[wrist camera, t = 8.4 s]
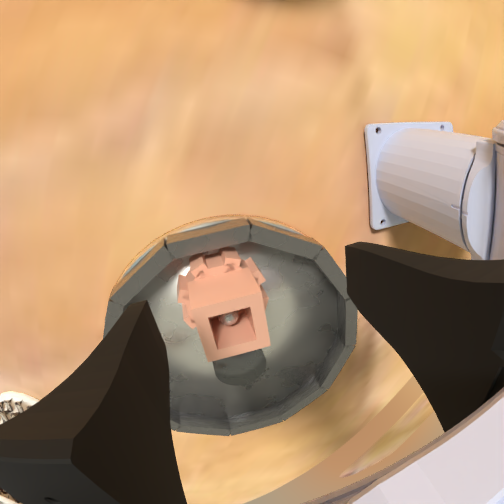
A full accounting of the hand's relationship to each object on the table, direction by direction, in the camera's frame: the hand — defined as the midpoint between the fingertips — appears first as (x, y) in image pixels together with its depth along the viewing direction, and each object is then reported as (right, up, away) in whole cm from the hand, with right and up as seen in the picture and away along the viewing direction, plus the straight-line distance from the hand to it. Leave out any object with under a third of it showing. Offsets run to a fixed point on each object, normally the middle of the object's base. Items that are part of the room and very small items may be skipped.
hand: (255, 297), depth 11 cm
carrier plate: (-2, -5, +13) cm, 14 cm away
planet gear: (-2, -1, +10) cm, 10 cm away
